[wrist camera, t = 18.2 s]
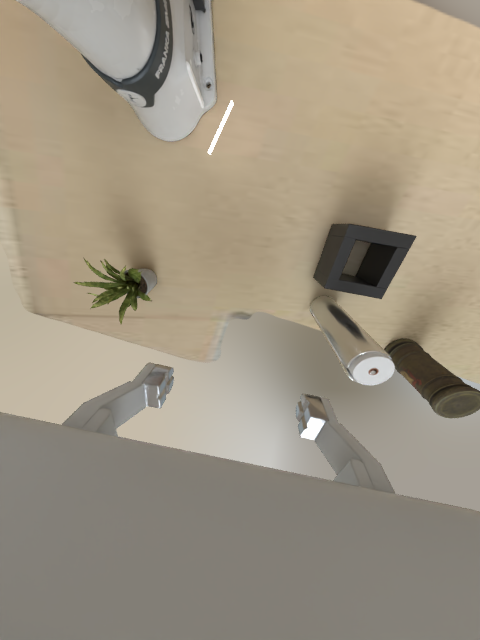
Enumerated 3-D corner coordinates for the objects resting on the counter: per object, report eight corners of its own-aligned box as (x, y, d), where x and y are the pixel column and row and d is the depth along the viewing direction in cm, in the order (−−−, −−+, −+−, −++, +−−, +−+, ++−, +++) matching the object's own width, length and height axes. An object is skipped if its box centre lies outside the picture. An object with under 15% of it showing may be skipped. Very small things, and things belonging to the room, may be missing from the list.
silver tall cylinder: (314, 293, 48) (361, 351, 25) (339, 297, 48) (407, 360, 25) (306, 315, 51) (341, 384, 29) (329, 319, 51) (383, 392, 28)
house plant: (133, 233, 45) (74, 236, 31) (181, 267, 48) (147, 285, 34) (116, 278, 51) (59, 298, 37) (160, 306, 54) (123, 336, 40)
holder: (331, 224, 40) (349, 223, 32) (385, 234, 40) (416, 236, 32) (313, 277, 46) (324, 288, 38) (360, 286, 46) (381, 299, 38)
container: (398, 333, 50) (462, 383, 34) (425, 345, 51) (500, 399, 35) (375, 357, 55) (422, 411, 39) (400, 367, 55) (457, 425, 39)
